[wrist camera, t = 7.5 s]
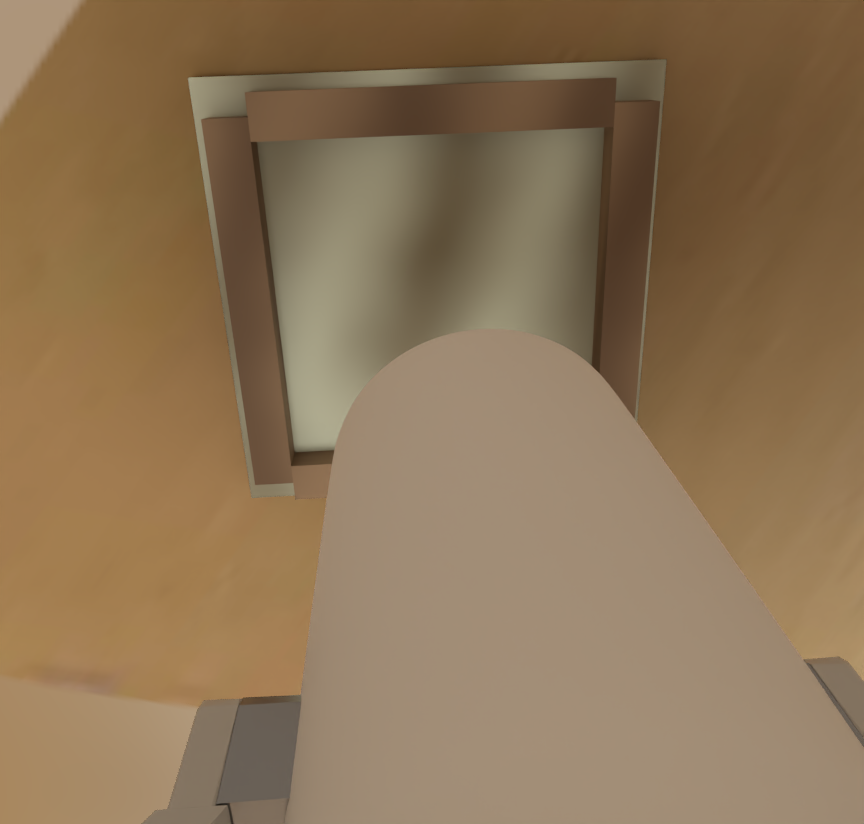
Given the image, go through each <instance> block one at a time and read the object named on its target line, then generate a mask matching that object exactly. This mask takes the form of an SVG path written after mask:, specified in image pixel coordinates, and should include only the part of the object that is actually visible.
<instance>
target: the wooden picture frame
mask: <svg viewBox="0 0 864 824" xmlns="http://www.w3.org/2000/svg"><path fill="white" fill-rule="evenodd" d="M666 62H667V59H659V60H633V61H607V62H581V63H555V64H529V65H503V66H477V67H451V68H425V69H398V70H372V71H346V72H320V73H294V74H268V75H242V76H216V77H190V78H188V82H189V88H190V95H191V102H192V108H193V115H194V121H195V128H196V135H197V141H198V148H199V154H200V161H201V167H202V174H203V181H204V187H205V194H206V200H207V207H208V214H209V220H210V227H211V233H212V240H213V247H214V253H215V260H216V266H217V273H218V280H219V286H220V293H221V299H222V306H223V313H224V319H225V326H226V332H227V339H228V346H229V352H230V359H231V365H232V372H233V379H234V385H235V392H236V398H237V405H238V412H239V418H240V425H241V431H242V438H243V445H244V451H245V458H246V464H247V471H248V478H249V484H250V491H251V497H252V498H258V497H276V496H294V495H295V499H312V498H327V494H328V487H329V480H330V474H331V467H332V461H333V455H334V450H335V445H336V442H337V438H338V435H339V432H340V430H341V427H342V425H343V422H344V420H345V418H346V416H347V414H348V412H349V410H350V408H351V406H352V404H353V403H354V401H355V399H356V398H357V396H358V395H359V394H360V392H361V391H362V390H363V388H364V387H365V386H366V385H367V384H368V382H369V381H370V380H371V379H372V378H373V377H374V376H375V375H376V374H377V373H378V372H379V371H380V370H381V369H383V368H384V367H385V366H386V365H387V364H389V363H390V362H391V361H393V360H394V359H395V358H397V357H398V356H400V355H401V354H403V353H405V352H406V351H408V350H410V349H412V348H414V347H416V346H418V345H420V344H422V343H424V342H427V341H429V340H432V339H434V338H437V337H440V336H444V335H447V334H451V333H456V332H461V331H467V330H475V329H507V330H515V331H521V332H526V333H530V334H534V335H537V336H541V337H544V338H546V339H549V340H551V341H554V342H556V343H558V344H560V345H562V346H564V347H566V348H568V349H569V350H571V351H573V352H574V353H576V354H577V355H579V356H580V357H581V358H583V359H584V360H585V361H587V362H588V363H589V364H590V365H591V366H592V367H593V368H594V369H595V370H596V371H597V372H598V373H599V374H600V375H601V376H602V377H603V378H604V379H605V380H606V382H607V383H608V384H609V385H610V387H611V388H612V389H613V390H614V392H615V393H616V394H617V396H618V397H619V398H620V400H621V401H622V402H623V404H624V405H625V407H626V408H627V409H628V411H629V412H630V413H631V415H632V416H633V418H634V419H635V420H636V422H637V417H638V404H639V392H640V380H641V368H642V355H643V343H644V331H645V319H646V306H647V294H648V282H649V270H650V257H651V245H652V233H653V221H654V209H655V196H656V184H657V172H658V160H659V147H660V135H661V123H662V111H663V98H664V86H665V74H666Z"/></svg>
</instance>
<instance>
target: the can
mask: <svg viewBox="0 0 864 824" xmlns="http://www.w3.org/2000/svg"><path fill="white" fill-rule="evenodd" d="M284 824H864V747H863V746H862V744H861V743H860V741H859V740H858V739H857V737H856V736H855V734H854V733H853V731H852V730H851V728H850V727H849V725H848V724H847V723H846V721H845V720H844V718H843V717H842V715H841V714H840V712H839V711H838V709H837V708H836V706H835V705H834V704H833V702H832V701H831V699H830V698H829V696H828V695H827V693H826V692H825V690H824V689H823V688H822V686H821V685H820V683H819V682H818V680H817V679H816V677H815V676H814V674H813V673H812V672H811V670H810V669H809V667H808V666H807V664H806V663H805V661H804V660H803V659H802V657H801V656H800V654H799V653H798V651H797V650H796V649H795V647H794V646H793V644H792V643H791V641H790V640H789V638H788V637H787V636H786V634H785V633H784V631H783V630H782V628H781V627H780V625H779V624H778V623H777V621H776V620H775V618H774V617H773V615H772V614H771V613H770V611H769V610H768V608H767V607H766V605H765V604H764V602H763V601H762V600H761V598H760V597H759V595H758V594H757V592H756V591H755V590H754V588H753V587H752V585H751V584H750V582H749V581H748V580H747V578H746V577H745V575H744V574H743V572H742V571H741V570H740V568H739V567H738V565H737V564H736V562H735V561H734V560H733V558H732V557H731V555H730V554H729V552H728V551H727V550H726V548H725V547H724V545H723V544H722V542H721V541H720V540H719V538H718V537H717V535H716V534H715V532H714V531H713V530H712V528H711V527H710V525H709V524H708V522H707V521H706V520H705V518H704V517H703V515H702V514H701V512H700V511H699V510H698V508H697V507H696V505H695V504H694V502H693V501H692V500H691V498H690V497H689V495H688V494H687V492H686V491H685V490H684V488H683V487H682V485H681V484H680V483H679V481H678V480H677V478H676V477H675V475H674V474H673V473H672V471H671V470H670V468H669V467H668V466H667V464H666V463H665V461H664V460H663V458H662V457H661V456H660V454H659V453H658V451H657V450H656V449H655V447H654V446H653V444H652V443H651V442H650V440H649V439H648V437H647V436H646V434H645V433H644V432H643V430H642V429H641V427H640V426H639V425H638V423H637V422H636V420H635V419H634V418H633V416H632V415H631V413H630V412H629V411H628V409H627V408H626V407H625V405H624V404H623V402H622V401H621V400H620V398H619V397H618V396H617V394H616V393H615V392H614V390H613V389H612V388H611V387H610V385H609V384H608V383H607V382H606V380H605V379H604V378H603V377H602V376H601V375H600V374H599V373H598V372H597V371H596V370H595V369H594V368H593V367H592V366H591V365H590V364H589V363H588V362H587V361H585V360H584V359H583V358H581V357H580V356H579V355H577V354H576V353H574V352H573V351H571V350H569V349H568V348H566V347H564V346H562V345H560V344H558V343H556V342H554V341H551V340H549V339H546V338H544V337H541V336H537V335H534V334H530V333H526V332H521V331H515V330H507V329H475V330H467V331H461V332H456V333H451V334H447V335H444V336H440V337H437V338H434V339H432V340H429V341H427V342H424V343H422V344H420V345H418V346H416V347H414V348H412V349H410V350H408V351H406V352H405V353H403V354H401V355H400V356H398V357H397V358H395V359H394V360H393V361H391V362H390V363H389V364H387V365H386V366H385V367H384V368H383V369H381V370H380V371H379V372H378V373H377V374H376V375H375V376H374V377H373V378H372V379H371V380H370V381H369V382H368V384H367V385H366V386H365V387H364V388H363V390H362V391H361V392H360V394H359V395H358V396H357V398H356V399H355V401H354V403H353V404H352V406H351V408H350V410H349V412H348V414H347V416H346V418H345V420H344V422H343V425H342V427H341V430H340V432H339V435H338V438H337V442H336V445H335V450H334V455H333V461H332V467H331V474H330V480H329V487H328V494H327V501H326V509H325V516H324V523H323V530H322V537H321V545H320V552H319V560H318V567H317V575H316V582H315V589H314V597H313V604H312V612H311V620H310V627H309V635H308V642H307V650H306V658H305V665H304V673H303V680H302V688H301V710H300V718H299V726H298V734H297V742H296V750H295V758H294V766H293V775H292V783H291V792H290V799H289V802H288V806H287V811H286V815H285V822H284Z"/></svg>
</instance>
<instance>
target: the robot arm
mask: <svg viewBox="0 0 864 824" xmlns="http://www.w3.org/2000/svg"><path fill="white" fill-rule="evenodd" d="M804 661H805V663H806V664H807V666H808V667H809V669H810V670H811V672H812V673H813V674H814V676H815V677H816V679H817V680H818V682H819V683H820V685H821V686H822V688H823V689H824V690H825V692H826V693H827V695H828V696H829V698H830V699H831V701H832V702H833V704H834V705H835V706H836V708H837V709H838V711H839V712H840V714H841V715H842V717H843V718H844V720H845V721H846V723H847V724H848V725H849V727H850V728H851V730H852V731H853V733H854V734H855V736H856V737H857V739H858V740H859V741H860V743H861V744H862V746H863V747H864V681H863V680H862V679H861V677H860V676H859V675H858V674H857V673H856V671H855V670H854V669H853V668H852V666H851V665H850V664H849V663H848V662H847V661H846V660H844V659H842V658H840V657H828V658H816V659H804ZM300 710H301V695H292V696H269V697H246V698H243V699H221V700H204V701H203V702H202V704H201V705H200V707H199V708H198V709H197V712H196V716H195V719H194V722H193V725H192V729H191V733H190V735H189V739H188V742H187V745H186V749H185V752H184V755H183V759H182V762H181V766H180V769H179V772H178V775H177V779H176V782H175V785H174V789H173V792H172V796H171V799H170V802H169V805H168V809H166V810H155V811H154V812H153V813H152V814H151V815H150V816H149V817H148V818H147V819H146V820H145V821H144V822H143V823H142V824H284V822H285V815H286V811H287V806H288V802H289V799H290V792H291V783H292V775H293V766H294V758H295V750H296V742H297V734H298V726H299V718H300Z"/></svg>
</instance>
